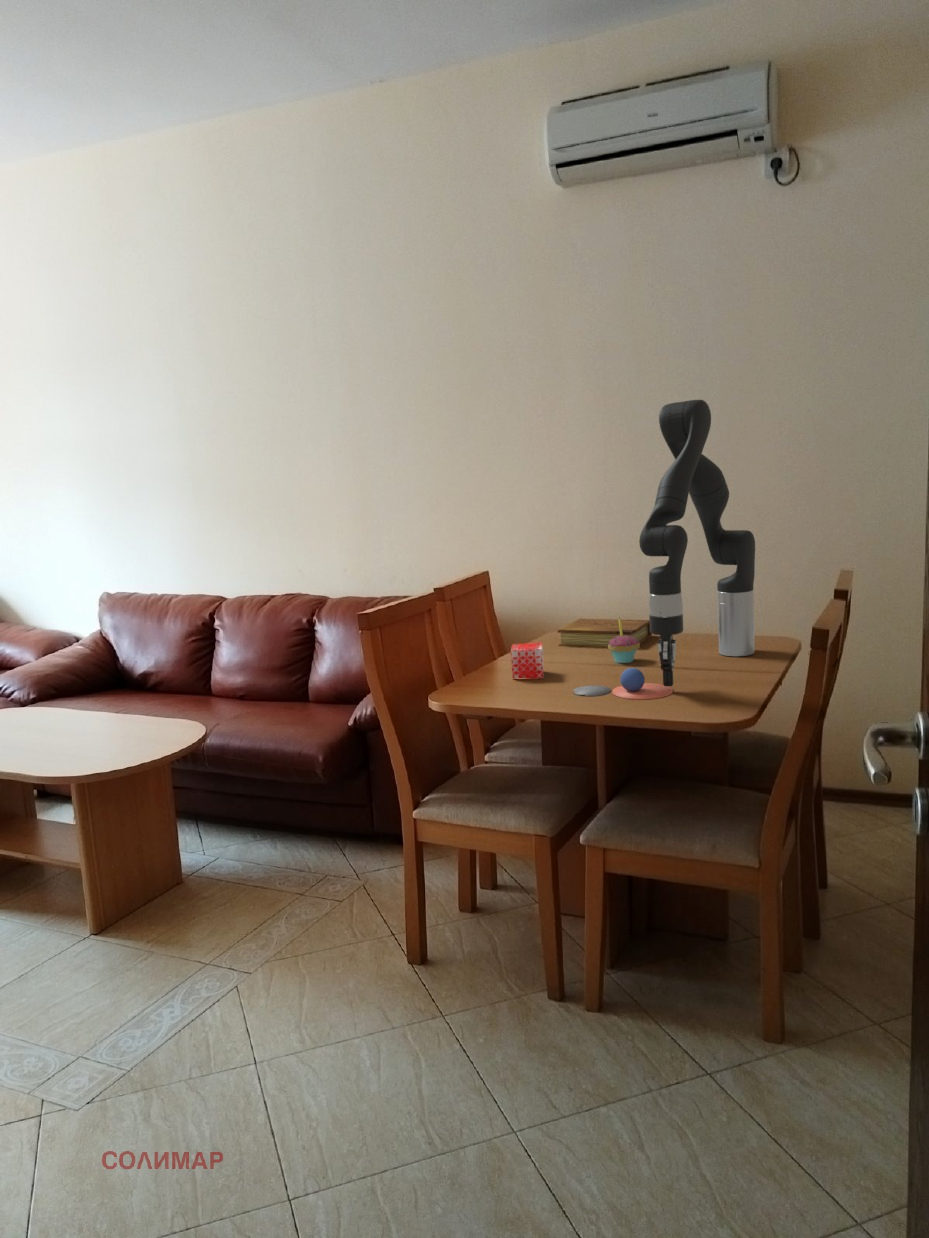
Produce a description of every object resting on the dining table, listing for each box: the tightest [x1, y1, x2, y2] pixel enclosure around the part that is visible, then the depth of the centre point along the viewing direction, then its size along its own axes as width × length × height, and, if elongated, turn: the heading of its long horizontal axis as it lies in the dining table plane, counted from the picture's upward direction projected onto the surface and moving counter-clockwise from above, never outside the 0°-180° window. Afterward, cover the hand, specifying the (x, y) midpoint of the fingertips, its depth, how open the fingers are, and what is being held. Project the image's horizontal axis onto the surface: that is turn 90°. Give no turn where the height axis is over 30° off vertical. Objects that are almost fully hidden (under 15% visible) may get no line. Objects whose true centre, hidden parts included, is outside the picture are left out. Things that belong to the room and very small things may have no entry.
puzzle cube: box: [510, 642, 545, 679], centre depth 228 cm, size 8×8×8 cm
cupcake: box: [607, 616, 641, 664], centre depth 236 cm, size 9×8×12 cm
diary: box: [557, 618, 653, 649], centre depth 264 cm, size 23×19×6 cm
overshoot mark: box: [572, 685, 612, 697], centre depth 209 cm, size 9×9×1 cm
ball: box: [620, 667, 646, 692], centre depth 206 cm, size 6×6×6 cm
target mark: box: [611, 682, 674, 701], centre depth 205 cm, size 14×14×1 cm
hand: (668, 685), depth 203 cm, fingers closed
